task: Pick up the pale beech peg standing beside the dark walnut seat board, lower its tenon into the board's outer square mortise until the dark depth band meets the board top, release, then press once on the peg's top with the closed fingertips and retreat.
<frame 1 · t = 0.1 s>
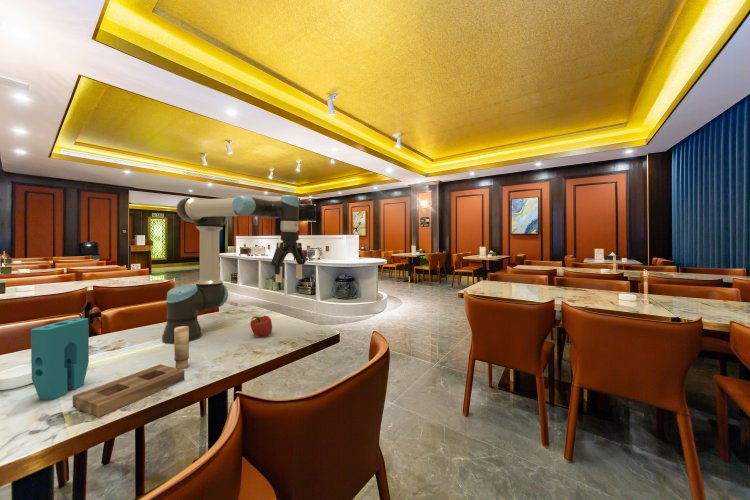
hand: (289, 280, 127), 28 cm above the table, fingers open, 13 cm apart
red apple: (261, 336, 138), on the table
board: (133, 392, 86), on the table
block: (62, 392, 85), on the table
peg: (181, 367, 103), on the table
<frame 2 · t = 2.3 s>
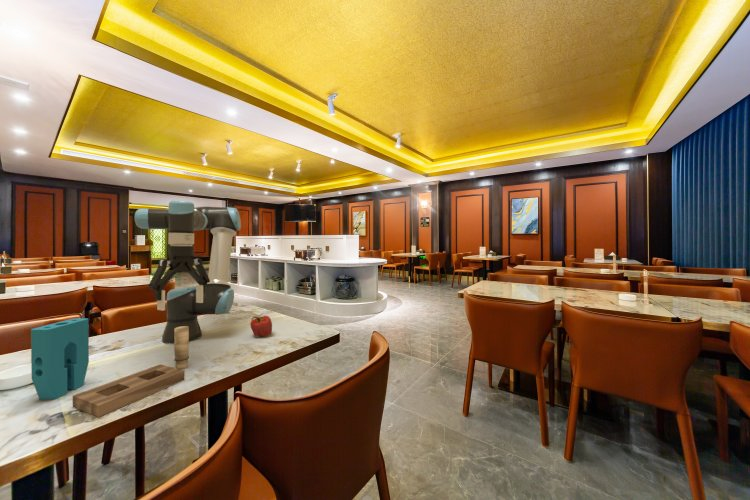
hand: (181, 306, 102), 22 cm above the table, fingers open, 13 cm apart
nothing on the table moved.
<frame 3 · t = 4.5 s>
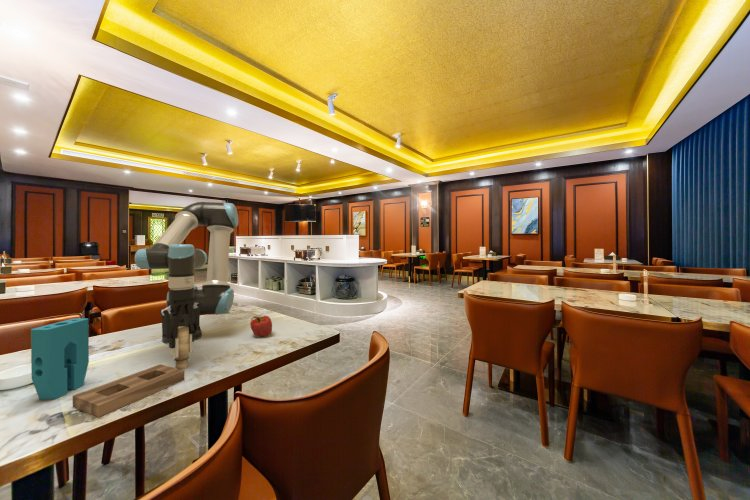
hand: (181, 354, 103), 5 cm above the table, fingers closed on peg, 4 cm apart
peg: (181, 367, 103), on the table, touching gripper
everything else where it was.
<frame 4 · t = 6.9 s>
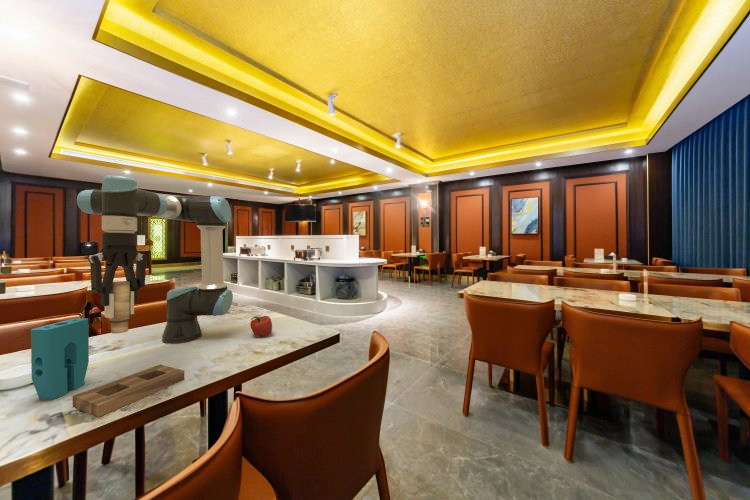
hand: (119, 315, 82), 23 cm above the table, fingers closed on peg, 4 cm apart
peg: (119, 331, 82), point 19 cm above the table, touching gripper
everything else where it was.
when the fingers open (6 cm above the table, at t = 9.6 s): peg drops 1 cm, resting in board.
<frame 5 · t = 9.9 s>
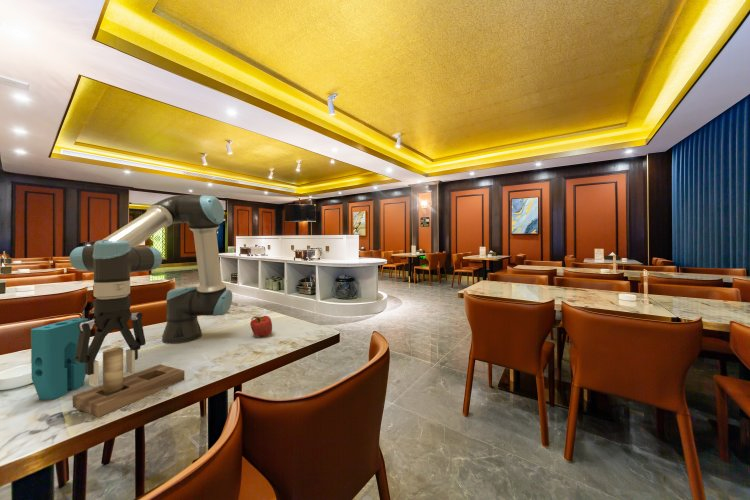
hand: (113, 378, 81), 6 cm above the table, fingers open, 8 cm apart
peg: (113, 400, 81), resting in board
everything else where it was.
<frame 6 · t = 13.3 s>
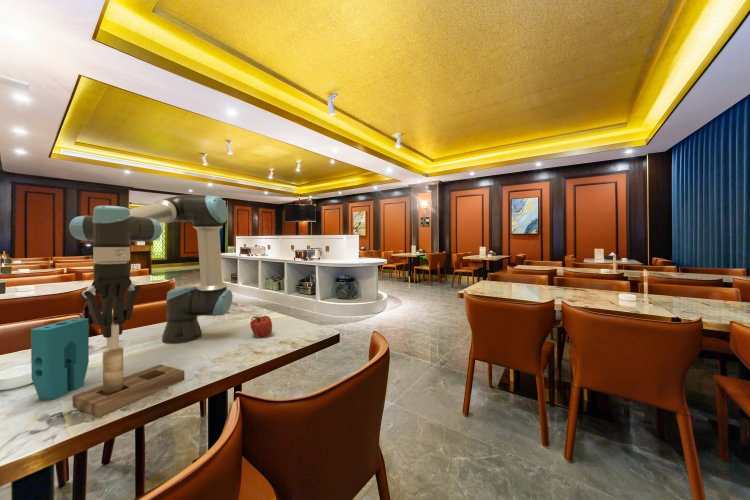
hand: (112, 347, 81), 15 cm above the table, fingers closed
nothing on the table moved.
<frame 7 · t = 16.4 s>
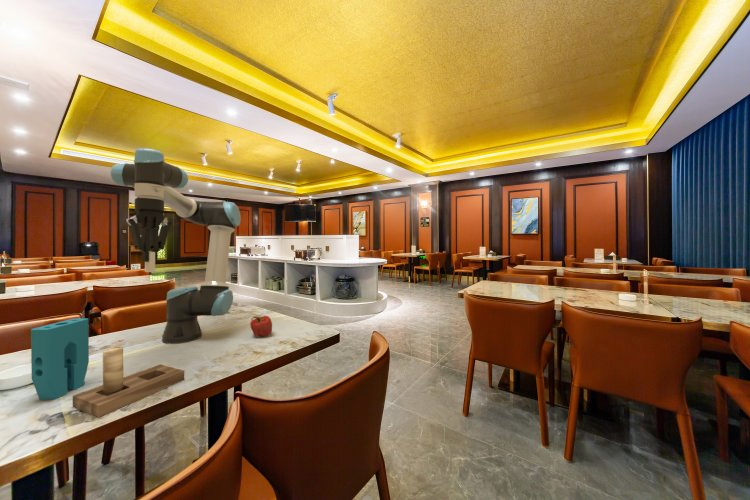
hand: (149, 271, 94), 34 cm above the table, fingers closed
nothing on the table moved.
at the end: peg 0.0 cm from the target spot on the board, point 0.0 cm above the board's base; peg tilted 0°; the gripper is holding nothing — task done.
